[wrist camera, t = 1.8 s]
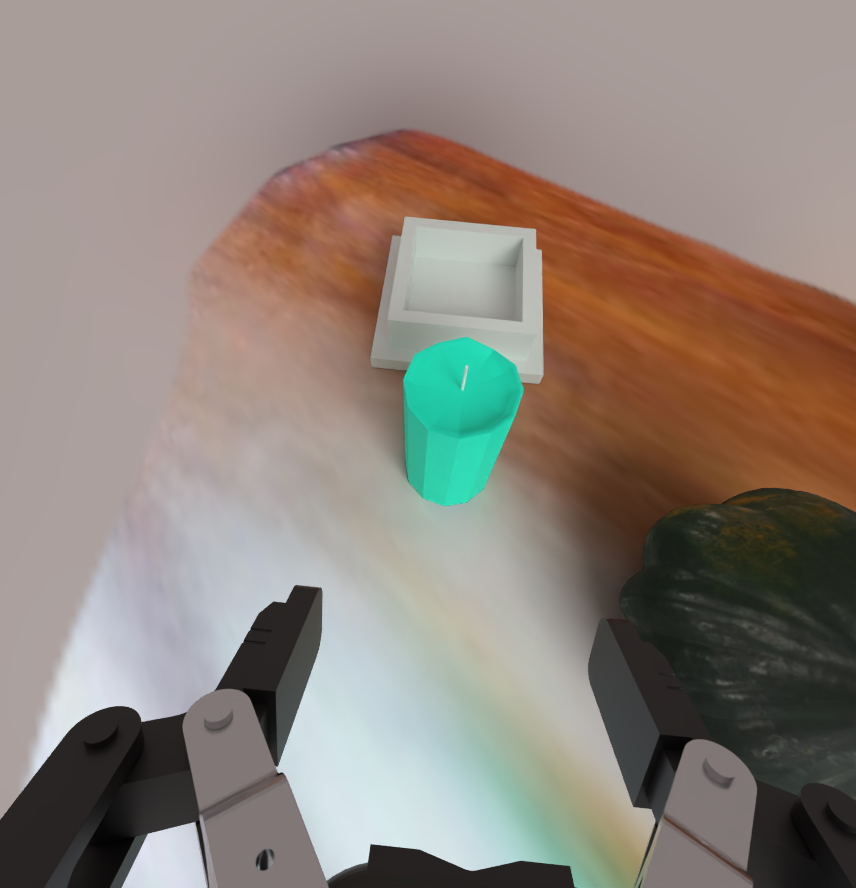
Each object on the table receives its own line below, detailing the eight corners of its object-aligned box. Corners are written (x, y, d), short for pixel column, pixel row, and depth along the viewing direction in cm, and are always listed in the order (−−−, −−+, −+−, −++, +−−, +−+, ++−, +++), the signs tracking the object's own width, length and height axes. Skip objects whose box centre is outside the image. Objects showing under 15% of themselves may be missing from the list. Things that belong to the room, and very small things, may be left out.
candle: (505, 485, 32) (554, 395, 21) (426, 520, 31) (435, 443, 20) (466, 415, 34) (493, 301, 23) (391, 444, 33) (382, 338, 22)
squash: (855, 466, 27) (903, 412, 16) (1038, 755, 22) (1324, 1008, 10) (622, 538, 35) (537, 539, 23) (715, 769, 29) (664, 924, 17)
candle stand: (538, 260, 41) (551, 220, 37) (539, 383, 35) (554, 350, 32) (393, 246, 41) (391, 204, 37) (371, 367, 35) (366, 332, 32)
